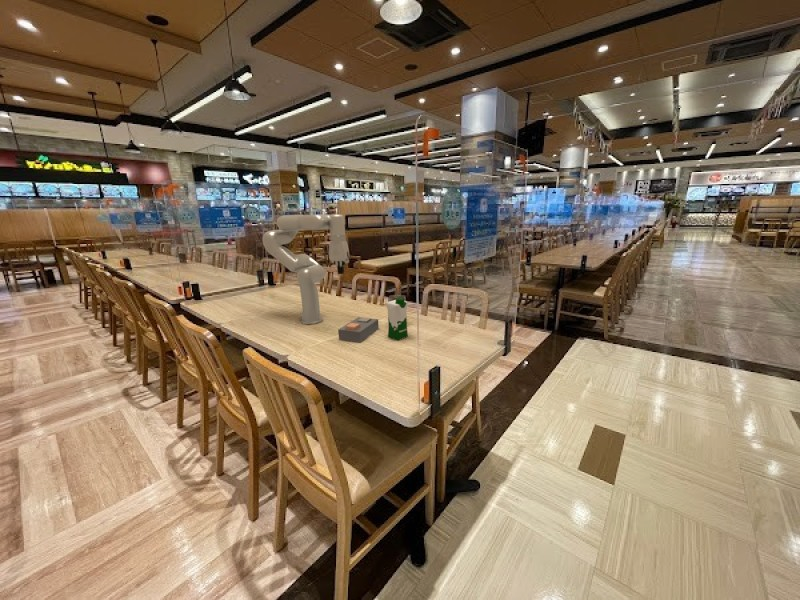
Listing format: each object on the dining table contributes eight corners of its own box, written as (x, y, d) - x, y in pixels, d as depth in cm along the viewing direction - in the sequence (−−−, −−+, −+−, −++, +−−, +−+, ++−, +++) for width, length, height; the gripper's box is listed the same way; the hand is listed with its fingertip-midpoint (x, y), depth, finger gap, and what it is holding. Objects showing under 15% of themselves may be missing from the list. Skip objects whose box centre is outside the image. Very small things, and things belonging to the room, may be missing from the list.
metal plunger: (358, 329, 167) (358, 320, 166) (363, 326, 171) (362, 317, 170) (367, 330, 165) (366, 321, 164) (371, 327, 170) (370, 318, 168)
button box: (339, 339, 157) (338, 329, 155) (359, 326, 174) (358, 317, 173) (360, 342, 152) (359, 332, 151) (378, 329, 170) (378, 319, 169)
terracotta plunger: (346, 335, 156) (345, 326, 155) (351, 332, 161) (351, 322, 159) (355, 336, 154) (354, 327, 153) (360, 333, 159) (359, 323, 157)
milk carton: (398, 341, 152) (397, 301, 147) (385, 337, 158) (383, 298, 153) (410, 336, 159) (409, 297, 153) (397, 332, 165) (396, 294, 159)
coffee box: (406, 322, 179) (405, 294, 175) (405, 326, 173) (404, 297, 169) (390, 322, 180) (389, 294, 176) (389, 326, 174) (387, 297, 169)
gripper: (321, 239, 165) (325, 274, 170) (346, 239, 159) (349, 275, 164) (330, 238, 172) (333, 272, 176) (354, 238, 166) (356, 273, 171)
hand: (340, 273), depth 170 cm, fingers closed
